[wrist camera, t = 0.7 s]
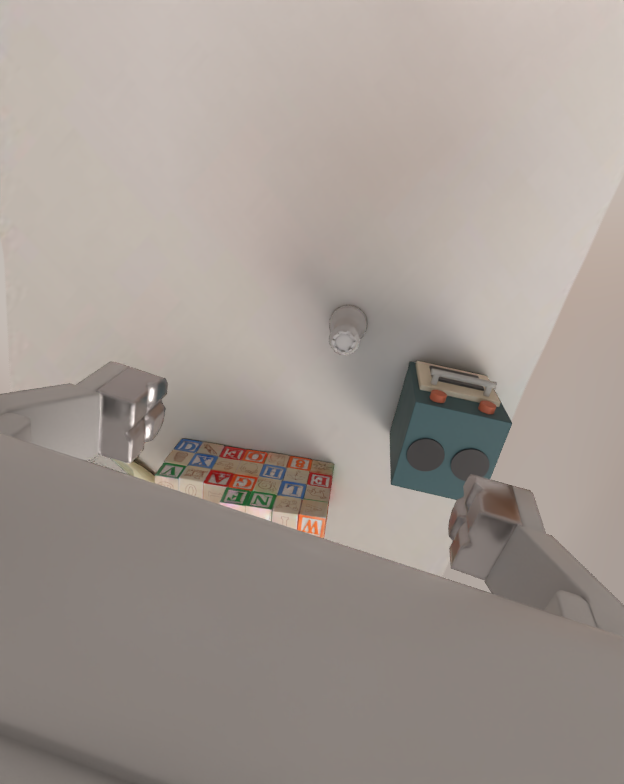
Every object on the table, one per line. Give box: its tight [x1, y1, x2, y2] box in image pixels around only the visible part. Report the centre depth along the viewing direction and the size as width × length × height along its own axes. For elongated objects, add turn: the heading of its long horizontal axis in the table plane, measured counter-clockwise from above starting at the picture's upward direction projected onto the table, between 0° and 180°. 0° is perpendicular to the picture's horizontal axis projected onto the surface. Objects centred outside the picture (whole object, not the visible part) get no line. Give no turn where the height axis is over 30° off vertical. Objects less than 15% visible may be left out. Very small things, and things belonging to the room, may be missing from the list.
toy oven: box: [390, 361, 512, 500], centre depth 56 cm, size 12×10×12 cm
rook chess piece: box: [329, 305, 367, 355], centre depth 56 cm, size 4×4×8 cm
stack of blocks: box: [155, 439, 334, 538], centre depth 64 cm, size 21×6×12 cm, turn 84°
